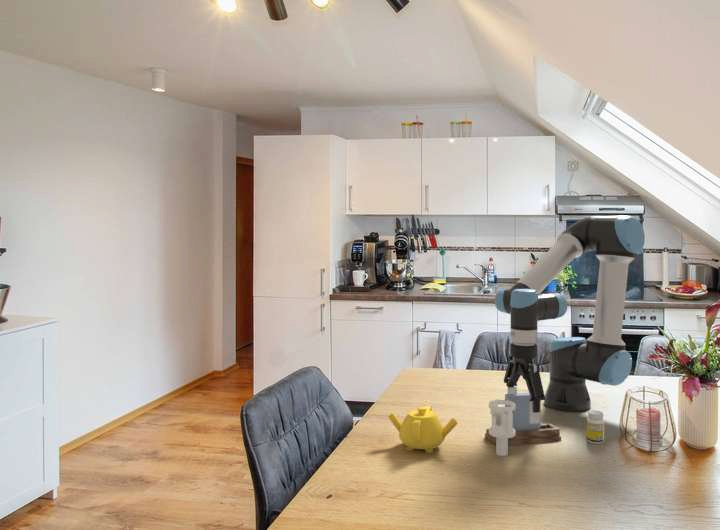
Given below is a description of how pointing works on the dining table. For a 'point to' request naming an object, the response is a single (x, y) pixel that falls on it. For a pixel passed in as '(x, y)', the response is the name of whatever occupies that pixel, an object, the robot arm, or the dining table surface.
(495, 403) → the strainer
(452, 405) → the dining table surface
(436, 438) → the teapot
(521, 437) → the track
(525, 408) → the door panel
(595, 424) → the supplement bottle
